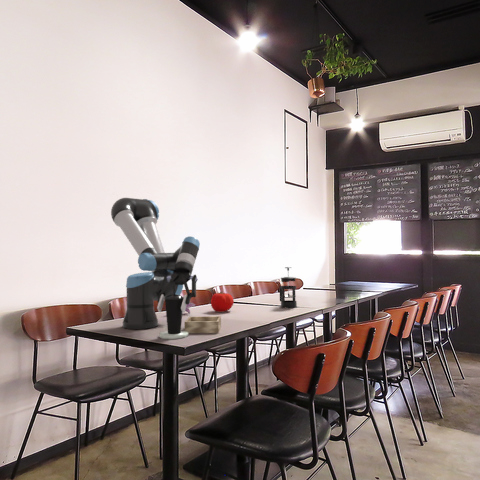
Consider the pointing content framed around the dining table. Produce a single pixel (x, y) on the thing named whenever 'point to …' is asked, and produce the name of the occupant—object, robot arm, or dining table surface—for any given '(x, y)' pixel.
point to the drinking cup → (174, 312)
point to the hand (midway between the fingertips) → (170, 310)
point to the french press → (282, 293)
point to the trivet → (173, 335)
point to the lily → (189, 307)
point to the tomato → (221, 302)
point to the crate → (203, 324)
